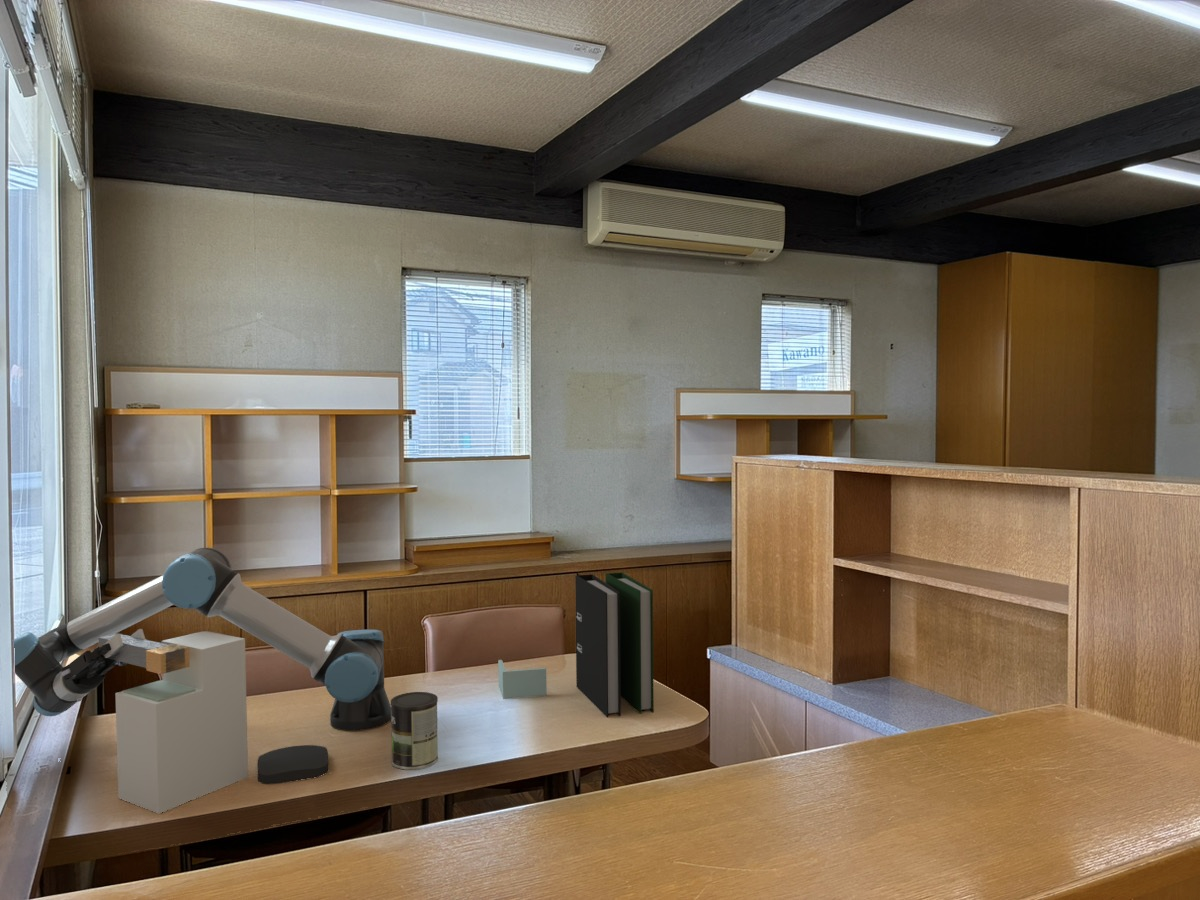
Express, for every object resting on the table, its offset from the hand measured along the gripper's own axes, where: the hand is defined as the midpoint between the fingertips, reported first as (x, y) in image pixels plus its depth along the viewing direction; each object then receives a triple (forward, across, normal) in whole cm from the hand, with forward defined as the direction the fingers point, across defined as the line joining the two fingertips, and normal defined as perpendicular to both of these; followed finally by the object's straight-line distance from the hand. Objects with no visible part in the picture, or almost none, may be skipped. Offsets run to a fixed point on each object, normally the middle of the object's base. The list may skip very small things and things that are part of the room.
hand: (131, 637), depth 179 cm
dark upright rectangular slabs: (+35, -99, -56) cm, 119 cm away
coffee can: (+20, -40, -48) cm, 66 cm away
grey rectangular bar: (+1, 0, -6) cm, 6 cm away
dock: (-7, -5, -32) cm, 33 cm away
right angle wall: (+12, -92, -43) cm, 103 cm away
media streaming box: (+2, -23, -38) cm, 45 cm away
